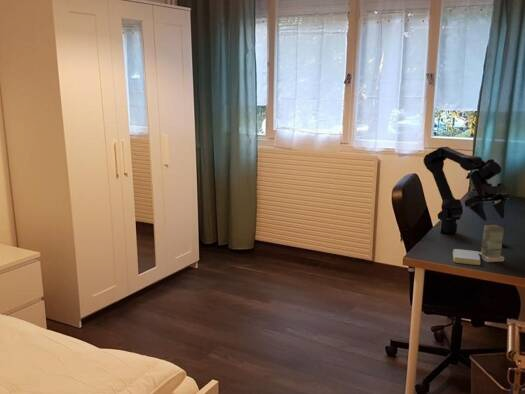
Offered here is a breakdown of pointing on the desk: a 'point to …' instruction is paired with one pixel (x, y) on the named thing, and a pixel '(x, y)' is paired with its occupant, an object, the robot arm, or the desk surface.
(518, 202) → the desk surface
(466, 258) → the plate
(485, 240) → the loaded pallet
